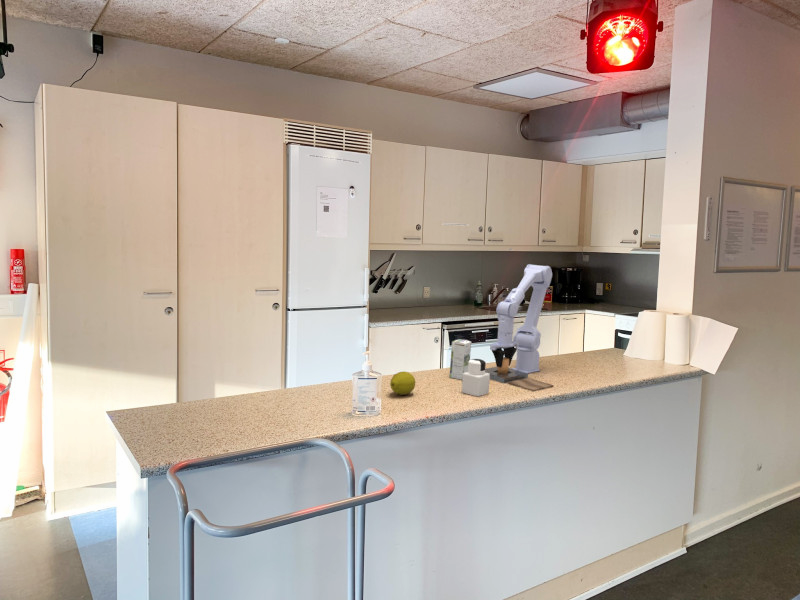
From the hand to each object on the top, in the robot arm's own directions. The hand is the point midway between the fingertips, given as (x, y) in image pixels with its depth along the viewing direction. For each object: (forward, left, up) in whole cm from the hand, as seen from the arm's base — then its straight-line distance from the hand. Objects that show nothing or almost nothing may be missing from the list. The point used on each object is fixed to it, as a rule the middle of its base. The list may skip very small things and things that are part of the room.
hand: (503, 366), depth 240 cm
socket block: (0, 0, -4) cm, 4 cm away
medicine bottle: (+26, +10, -5) cm, 28 cm away
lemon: (+50, -2, -5) cm, 50 cm away
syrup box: (+16, -8, -5) cm, 18 cm away
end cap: (0, 0, -3) cm, 3 cm away
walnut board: (0, +14, -4) cm, 15 cm away
